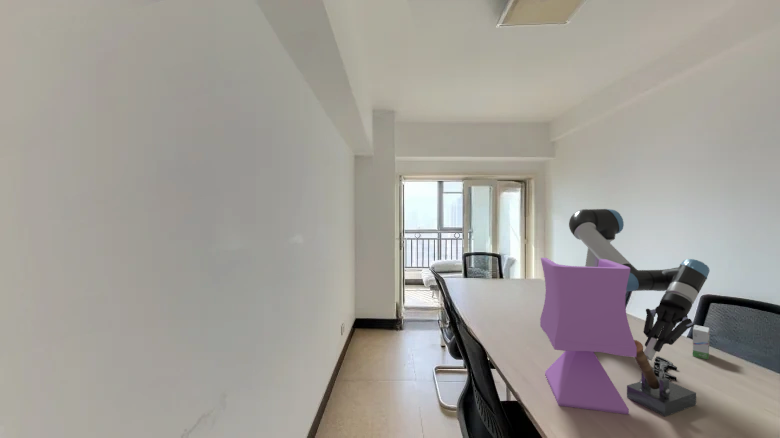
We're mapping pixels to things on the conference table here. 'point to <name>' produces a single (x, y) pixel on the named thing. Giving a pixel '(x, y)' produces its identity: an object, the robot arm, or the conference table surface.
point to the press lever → (646, 367)
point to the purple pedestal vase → (586, 331)
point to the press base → (661, 396)
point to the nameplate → (663, 368)
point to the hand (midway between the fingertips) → (647, 357)
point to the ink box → (701, 342)
